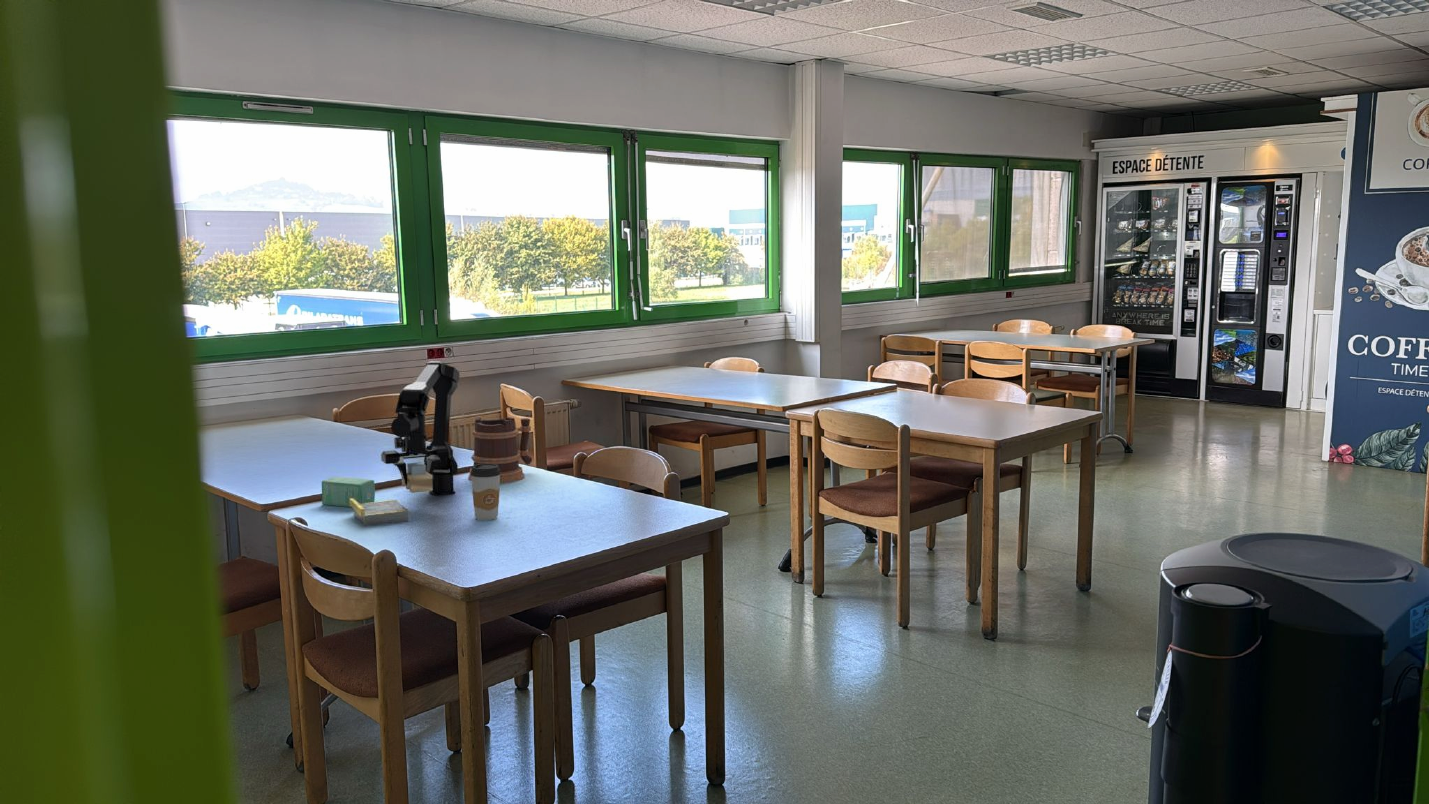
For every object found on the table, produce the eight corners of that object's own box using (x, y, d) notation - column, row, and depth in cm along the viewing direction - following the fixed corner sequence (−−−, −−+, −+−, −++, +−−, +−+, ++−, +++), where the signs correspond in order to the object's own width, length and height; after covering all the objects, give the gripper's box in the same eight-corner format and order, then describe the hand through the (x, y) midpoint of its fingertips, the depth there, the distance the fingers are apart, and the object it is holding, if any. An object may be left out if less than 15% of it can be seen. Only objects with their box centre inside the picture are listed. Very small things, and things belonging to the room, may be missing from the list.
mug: (546, 476, 351) (545, 417, 348) (485, 486, 336) (484, 425, 333) (517, 467, 364) (515, 410, 361) (457, 476, 349) (456, 417, 346)
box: (362, 508, 306) (361, 483, 305) (321, 505, 310) (320, 480, 309) (376, 502, 313) (375, 478, 312) (336, 500, 317) (335, 475, 316)
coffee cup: (475, 523, 292) (474, 470, 289) (468, 516, 299) (466, 464, 297) (505, 519, 295) (504, 467, 293) (496, 513, 303) (495, 462, 300)
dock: (396, 510, 305) (395, 493, 304) (409, 521, 293) (408, 503, 292) (350, 515, 298) (349, 498, 297) (361, 527, 286) (360, 509, 286)
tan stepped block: (401, 485, 309) (401, 470, 308) (422, 483, 312) (421, 468, 311) (411, 492, 300) (411, 477, 299) (432, 490, 303) (432, 475, 302)
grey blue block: (407, 471, 306) (407, 463, 306) (421, 470, 308) (420, 462, 308) (412, 475, 302) (411, 466, 302) (425, 473, 304) (425, 465, 304)
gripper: (439, 424, 315) (440, 475, 317) (375, 429, 306) (377, 481, 308) (450, 430, 306) (451, 482, 308) (385, 435, 296) (387, 489, 298)
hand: (416, 483), depth 306 cm, fingers closed on tan stepped block, 6 cm apart
